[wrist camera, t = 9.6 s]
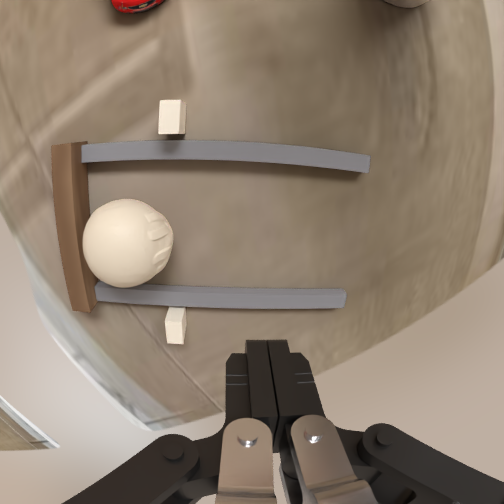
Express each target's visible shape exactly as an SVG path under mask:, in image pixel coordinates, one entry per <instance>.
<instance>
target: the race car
mask: <svg viewBox="0 0 504 504" xmlns="http://www.w3.org/2000/svg"><path fill="white" fill-rule="evenodd" d="M111 1H112V4H113V6H114V7H115V8H116V9H117V10H118V11H121V12H125V13H139V12H144V11H147V10H150V9H151V8H153V7H155V6H157V5H159V4H160V3H162V2H163V1H164V0H111Z"/></svg>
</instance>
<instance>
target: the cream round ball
mask: <svg viewBox="0 0 504 504" xmlns="http://www.w3.org/2000/svg"><path fill="white" fill-rule="evenodd" d="M172 246H173V232H172V229H171V227H170V225H169V223H168V221H167V220H166V218H165V217H164V216H163V215H162V214H161V213H159V212H157V211H156V210H155V209H153V208H152V207H151V206H149V205H148V204H146V203H144V202H141V201H138V200H134V199H120V200H114V201H111V202H109V203H106V204H104V205H103V206H101V207H99V208H98V209H96V210H95V211H94V212H93V214H92V215H91V216H90V218H89V220H88V222H87V224H86V227H85V229H84V233H83V253H84V257H85V259H86V262H87V264H88V266H89V268H90V270H91V271H92V273H93V274H94V275H95V276H96V277H97V278H99V279H100V280H101V281H103V282H105V283H107V284H109V285H112V286H115V287H121V288H125V287H133V286H137V285H140V284H142V283H144V282H146V281H148V280H150V279H151V278H152V277H154V276H155V275H156V274H157V273H158V272H160V271H161V270H163V269H164V267H165V266H166V264H167V262H168V260H169V257H170V253H171V250H172Z"/></svg>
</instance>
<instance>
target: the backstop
mask: <svg viewBox="0 0 504 504" xmlns="http://www.w3.org/2000/svg"><path fill="white" fill-rule="evenodd" d="M82 145H87V141H86V142H76V143H68V144H60V145H52V146H51V153H52V181H53V196H54V207H55V216H56V225H57V233H58V240H59V246H60V253H61V258H62V264H63V269H64V275H65V279H66V284H67V289H68V293H69V298H70V302H71V306H72V310H73V311H80V312H89V313H90V312H91V311H92V309H93V308H94V306H95V305H96V303H97V302H98V301H97V299H96V294H95V288H94V287H95V285H96V284H97V283H98V278H97V277H96V276H95V275H94V274H93V273H92V271H91V270H90V268H89V266H88V264H87V262H86V259H85V257H84V253H83V233H84V229H85V227H86V224H87V222H88V220H89V218H90V209H89V194H88V171H87V162H85V163H82V150H81V146H82Z"/></svg>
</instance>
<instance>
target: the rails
mask: <svg viewBox="0 0 504 504" xmlns="http://www.w3.org/2000/svg"><path fill="white" fill-rule="evenodd" d="M81 150H82V163H85V162H100V161H120V160H152V159H199V160H232V161H252V162H268V163H282V164H294V165H305V166H315V167H324V168H333V169H341V170H349V171H357V172H364V173H369V166H370V158H371V156H369V155H363V154H357V153H351V152H344V151H337V150H329V149H321V148H313V147H304V146H294V145H284V144H272V143H258V142H241V141H216V140H152V141H127V142H111V143H98V144H87V145H82V146H81ZM94 288H95V294H96V299H97V301H106V302H119V303H132V304H147V305H164V306H184V307H209V308H250V309H315V308H344V306H345V302H346V297H347V294H346V292H345V291H344V289H290V288H233V287H201V286H176V285H154V284H140V285H137V286H133V287H125V288H121V287H115V286H112V285H109V284H107V283H105V282H103V281H98V283H97V284H96V285H95V287H94Z"/></svg>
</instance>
